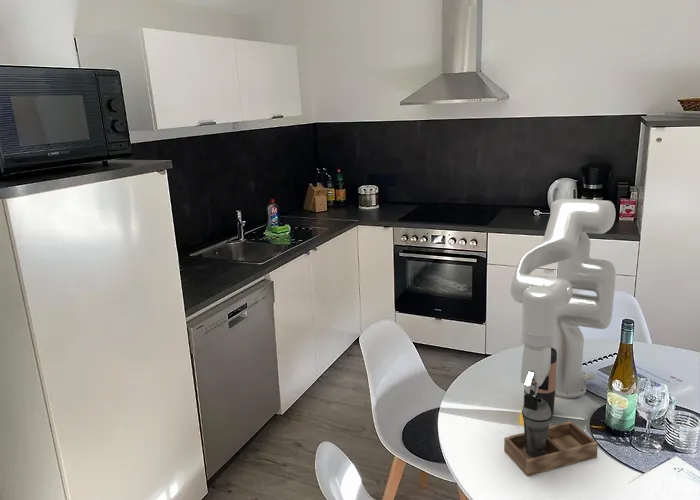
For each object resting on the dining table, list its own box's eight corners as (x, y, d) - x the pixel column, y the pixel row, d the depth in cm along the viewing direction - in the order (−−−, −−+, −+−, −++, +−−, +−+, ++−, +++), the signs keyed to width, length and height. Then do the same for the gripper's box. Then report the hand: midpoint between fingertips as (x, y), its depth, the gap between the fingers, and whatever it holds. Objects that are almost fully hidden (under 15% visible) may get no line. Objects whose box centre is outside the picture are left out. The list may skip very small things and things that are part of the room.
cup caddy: (569, 434, 152) (570, 421, 151) (596, 457, 142) (598, 443, 141) (504, 451, 147) (504, 437, 146) (527, 476, 137) (527, 461, 136)
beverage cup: (551, 462, 141) (555, 392, 135) (522, 460, 142) (524, 390, 136) (547, 444, 147) (550, 377, 142) (519, 442, 149) (521, 376, 143)
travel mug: (540, 423, 158) (543, 359, 152) (521, 410, 164) (522, 349, 159) (560, 415, 161) (563, 352, 156) (540, 403, 168) (542, 342, 162)
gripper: (532, 320, 143) (531, 378, 148) (511, 349, 129) (510, 412, 135) (563, 325, 139) (560, 385, 144) (544, 356, 125) (542, 421, 130)
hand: (536, 398), depth 139 cm, fingers open, 9 cm apart
